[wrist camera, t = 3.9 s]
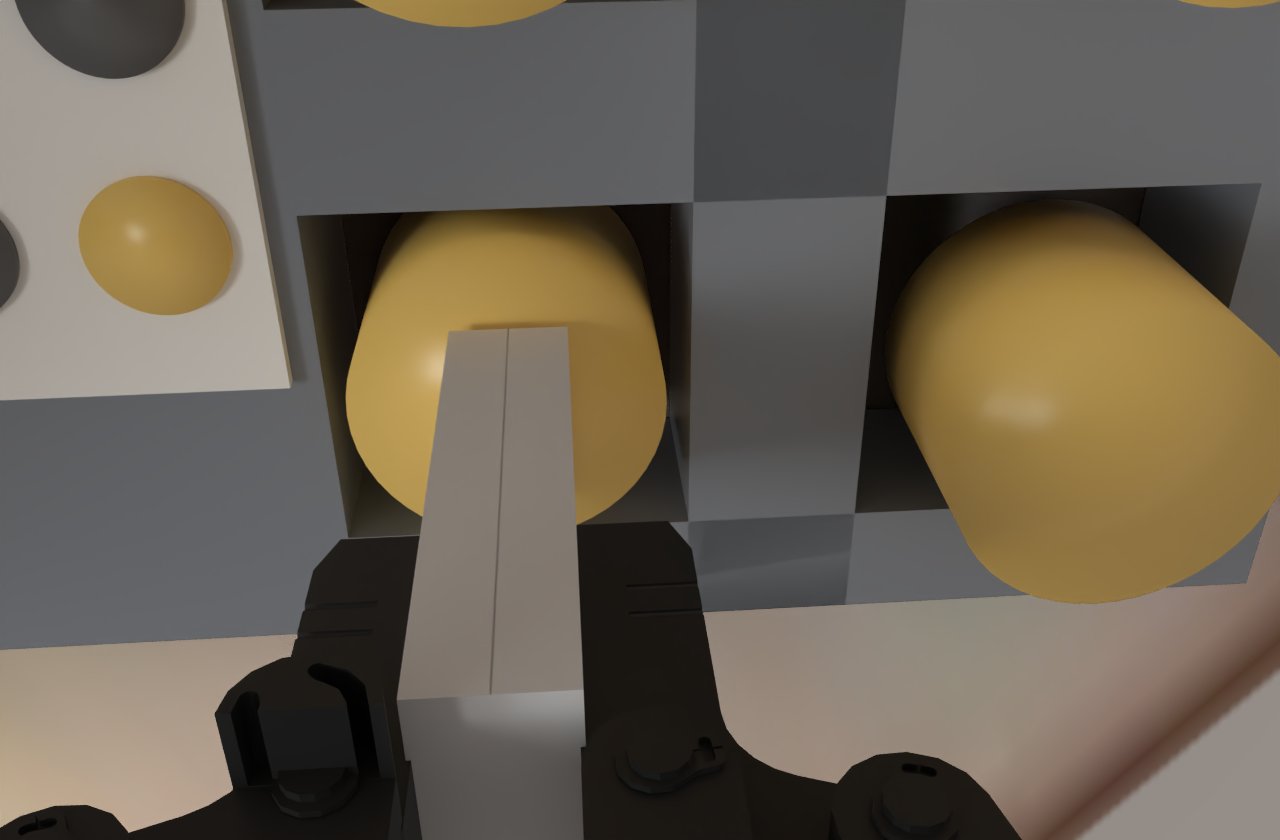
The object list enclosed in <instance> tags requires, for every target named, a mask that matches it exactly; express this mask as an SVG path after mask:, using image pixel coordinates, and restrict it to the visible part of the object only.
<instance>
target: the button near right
mask: <svg viewBox="0 0 1280 840" xmlns="http://www.w3.org/2000/svg"><path fill="white" fill-rule="evenodd" d="M1179 1H1182V2H1186V3H1191V4H1196V5H1201V6H1207V7H1224V8H1240V7H1251V6H1262V5H1266V4H1271V3H1275V2H1280V0H1179Z"/></svg>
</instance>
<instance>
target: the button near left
mask: <svg viewBox="0 0 1280 840" xmlns="http://www.w3.org/2000/svg"><path fill="white" fill-rule="evenodd" d="M355 1H357V2H359V3H362V4H364V5H366V6H368V7H370V8H373V9H375V10H377V11H379V12H382V13H385V14H388V15H392V16H395V17H398V18H401V19H405V20H408V21H412V22H418V23H424V24H429V25H435V26H448V27H477V26H488V25H498V24H502V23H506V22H511V21H515V20H519V19H524V18H527V17H529V16H532V15H535V14H537V13H540V12H543V11H545V10H548V9H551V8H553V7H555V6H557V5H558V4H560V3H562V2H564V1H566V0H355Z"/></svg>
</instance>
